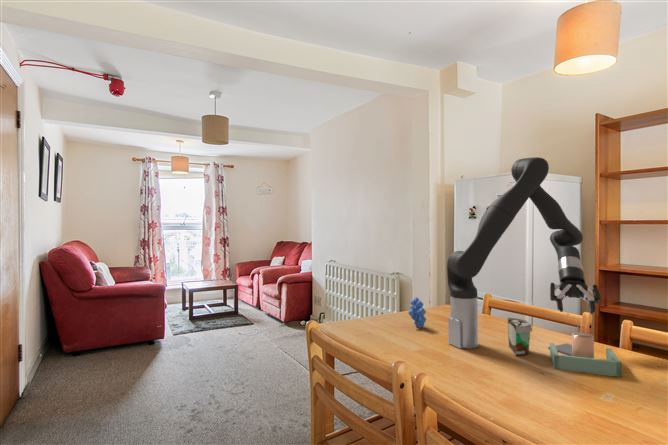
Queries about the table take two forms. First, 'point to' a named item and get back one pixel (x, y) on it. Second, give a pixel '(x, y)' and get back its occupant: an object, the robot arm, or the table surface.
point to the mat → (564, 349)
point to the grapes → (417, 312)
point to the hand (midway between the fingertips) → (576, 311)
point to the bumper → (587, 363)
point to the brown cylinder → (582, 345)
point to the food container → (519, 336)
